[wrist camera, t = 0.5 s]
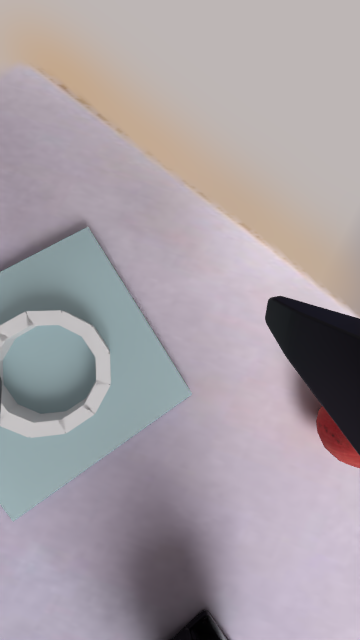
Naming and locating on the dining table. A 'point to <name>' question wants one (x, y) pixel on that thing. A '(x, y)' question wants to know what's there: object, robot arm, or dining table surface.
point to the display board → (72, 369)
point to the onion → (335, 440)
